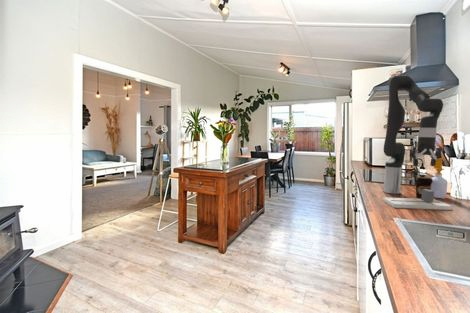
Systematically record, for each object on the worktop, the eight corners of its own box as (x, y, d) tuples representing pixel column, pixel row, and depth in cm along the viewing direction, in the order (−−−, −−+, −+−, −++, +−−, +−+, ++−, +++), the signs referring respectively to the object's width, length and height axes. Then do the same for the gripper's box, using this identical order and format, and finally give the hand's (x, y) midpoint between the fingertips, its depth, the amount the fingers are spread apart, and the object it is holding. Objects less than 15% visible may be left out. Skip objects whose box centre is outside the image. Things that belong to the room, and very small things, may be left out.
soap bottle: (430, 197, 152) (433, 158, 150) (425, 194, 161) (428, 156, 158) (448, 199, 149) (452, 158, 146) (442, 195, 157) (446, 157, 155)
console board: (382, 200, 145) (382, 197, 145) (434, 202, 142) (434, 198, 142) (394, 207, 132) (394, 203, 132) (451, 209, 129) (451, 205, 129)
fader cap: (421, 199, 139) (422, 188, 138) (426, 199, 138) (427, 188, 138) (427, 202, 134) (428, 190, 133) (433, 202, 133) (434, 191, 133)
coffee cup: (434, 201, 145) (436, 179, 143) (418, 200, 146) (420, 178, 145) (426, 197, 153) (428, 176, 152) (411, 196, 155) (413, 175, 154)
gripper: (436, 136, 137) (433, 165, 139) (408, 135, 138) (406, 164, 140) (446, 136, 129) (442, 167, 131) (417, 136, 131) (414, 166, 133)
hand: (423, 165), depth 136 cm, fingers open, 8 cm apart
